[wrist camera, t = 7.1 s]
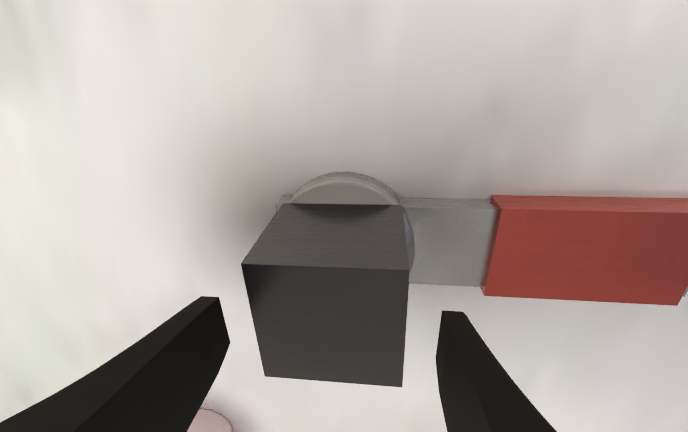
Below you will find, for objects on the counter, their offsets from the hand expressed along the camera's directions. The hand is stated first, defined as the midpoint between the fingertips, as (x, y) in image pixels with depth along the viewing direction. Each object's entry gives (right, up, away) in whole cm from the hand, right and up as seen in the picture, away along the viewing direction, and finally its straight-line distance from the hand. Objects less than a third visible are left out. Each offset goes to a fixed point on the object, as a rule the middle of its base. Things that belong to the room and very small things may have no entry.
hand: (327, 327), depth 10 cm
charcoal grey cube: (+1, +2, +4) cm, 5 cm away
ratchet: (+7, +3, +5) cm, 9 cm away
